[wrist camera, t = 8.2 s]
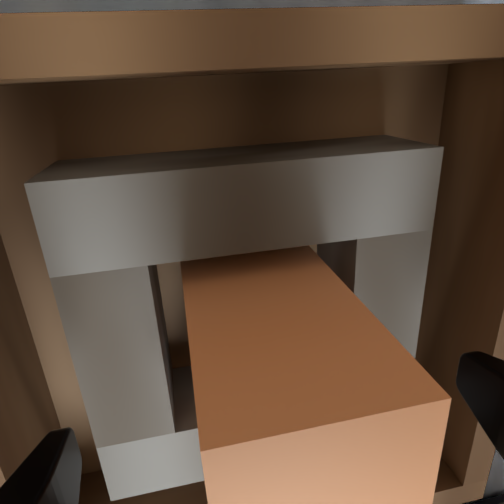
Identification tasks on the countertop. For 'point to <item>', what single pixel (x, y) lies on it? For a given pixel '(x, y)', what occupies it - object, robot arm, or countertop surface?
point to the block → (304, 388)
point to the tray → (251, 104)
